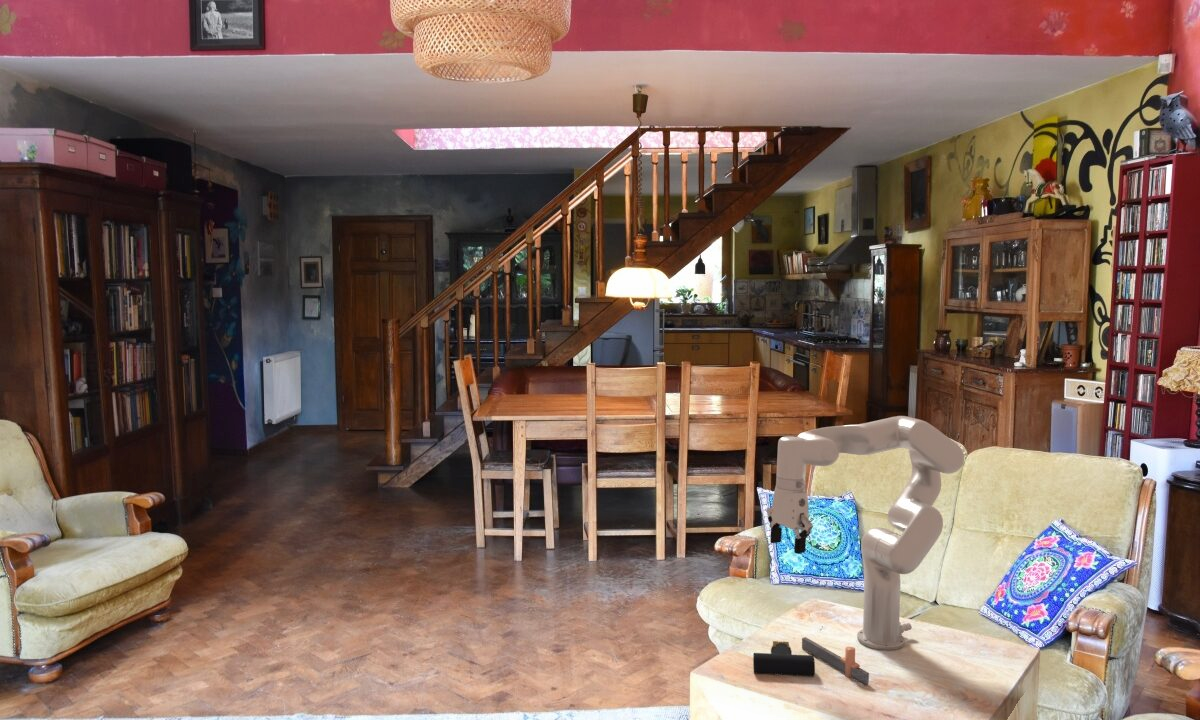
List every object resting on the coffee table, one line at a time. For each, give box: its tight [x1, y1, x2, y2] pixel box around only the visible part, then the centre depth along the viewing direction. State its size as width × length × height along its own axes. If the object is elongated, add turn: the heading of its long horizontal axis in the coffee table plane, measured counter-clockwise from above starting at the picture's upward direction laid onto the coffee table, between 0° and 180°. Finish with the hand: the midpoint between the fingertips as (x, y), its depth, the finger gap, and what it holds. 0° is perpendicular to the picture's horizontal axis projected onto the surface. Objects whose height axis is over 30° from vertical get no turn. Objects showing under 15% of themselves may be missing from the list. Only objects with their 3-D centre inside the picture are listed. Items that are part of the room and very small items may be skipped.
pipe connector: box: [752, 640, 816, 677], centre depth 221 cm, size 12×5×15 cm
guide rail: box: [801, 636, 870, 686], centre depth 221 cm, size 2×24×7 cm, turn 26°
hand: (787, 547), depth 225 cm, fingers open, 9 cm apart
